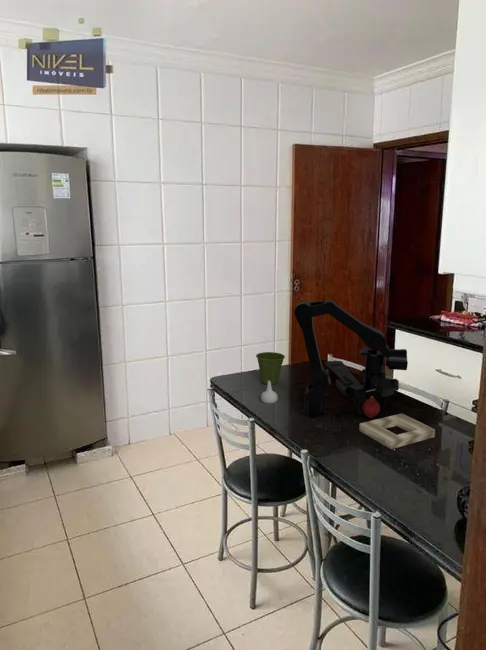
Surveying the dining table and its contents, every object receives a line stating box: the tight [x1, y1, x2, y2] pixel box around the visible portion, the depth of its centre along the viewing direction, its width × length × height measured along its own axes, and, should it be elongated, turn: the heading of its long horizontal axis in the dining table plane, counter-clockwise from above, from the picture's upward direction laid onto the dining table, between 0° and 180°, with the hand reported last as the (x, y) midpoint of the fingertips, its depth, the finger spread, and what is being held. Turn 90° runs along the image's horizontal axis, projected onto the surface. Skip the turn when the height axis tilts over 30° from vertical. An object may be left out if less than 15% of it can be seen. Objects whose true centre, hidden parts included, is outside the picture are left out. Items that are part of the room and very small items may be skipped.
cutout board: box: [358, 413, 436, 450], centre depth 151 cm, size 18×14×2 cm
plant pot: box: [255, 351, 286, 385], centre depth 197 cm, size 12×12×11 cm
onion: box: [362, 395, 381, 419], centre depth 162 cm, size 6×6×8 cm
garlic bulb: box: [260, 381, 279, 405], centre depth 178 cm, size 6×6×8 cm
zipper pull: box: [324, 360, 364, 397], centre depth 195 cm, size 9×7×25 cm
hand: (370, 412), depth 163 cm, fingers open, 9 cm apart
